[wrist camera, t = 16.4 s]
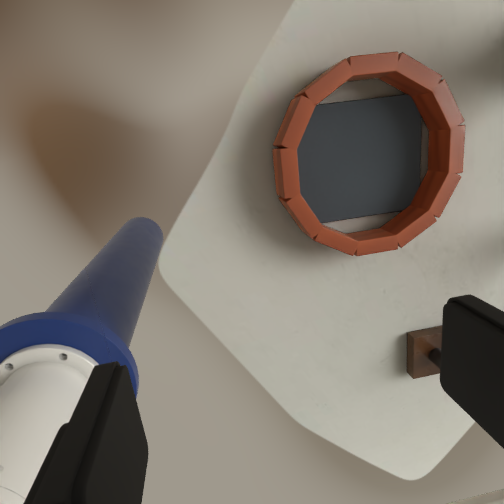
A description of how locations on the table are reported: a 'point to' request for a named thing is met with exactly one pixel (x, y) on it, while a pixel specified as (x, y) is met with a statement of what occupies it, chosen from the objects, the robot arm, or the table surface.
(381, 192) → the mat
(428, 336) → the post
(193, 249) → the table surface
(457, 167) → the hoop
